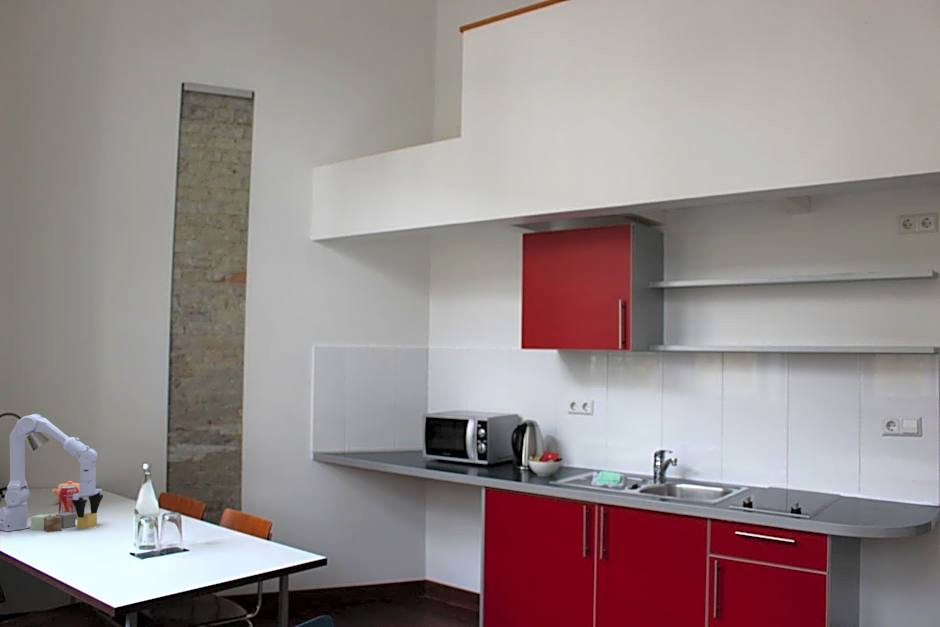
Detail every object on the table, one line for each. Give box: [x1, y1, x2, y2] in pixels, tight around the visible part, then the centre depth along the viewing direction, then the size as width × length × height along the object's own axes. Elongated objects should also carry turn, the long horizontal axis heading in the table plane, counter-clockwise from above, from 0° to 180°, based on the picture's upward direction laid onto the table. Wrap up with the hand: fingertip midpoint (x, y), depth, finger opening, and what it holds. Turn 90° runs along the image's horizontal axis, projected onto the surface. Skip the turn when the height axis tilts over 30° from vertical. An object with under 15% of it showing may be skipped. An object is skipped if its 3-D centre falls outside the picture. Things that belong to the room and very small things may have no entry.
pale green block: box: [30, 514, 52, 531], centre depth 340 cm, size 5×5×5 cm
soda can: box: [58, 485, 78, 519], centre depth 359 cm, size 7×7×13 cm
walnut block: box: [44, 515, 62, 533], centre depth 337 cm, size 5×5×5 cm
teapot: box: [51, 480, 80, 502], centre depth 393 cm, size 12×12×10 cm
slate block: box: [55, 512, 76, 529], centre depth 344 cm, size 5×5×5 cm
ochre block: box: [76, 512, 98, 530], centre depth 344 cm, size 5×5×5 cm
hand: (87, 515), depth 344 cm, fingers open, 7 cm apart
